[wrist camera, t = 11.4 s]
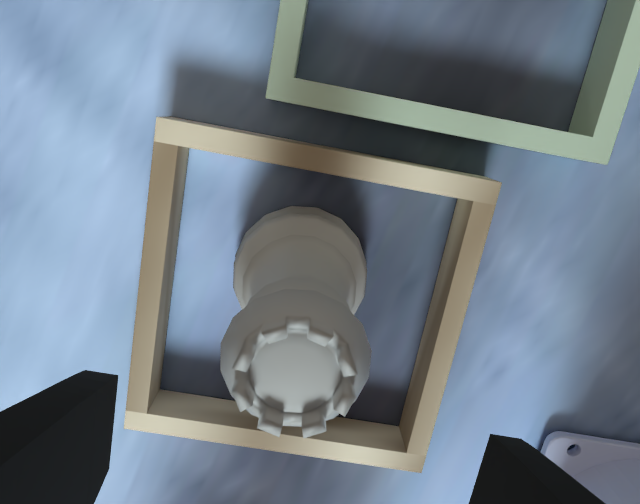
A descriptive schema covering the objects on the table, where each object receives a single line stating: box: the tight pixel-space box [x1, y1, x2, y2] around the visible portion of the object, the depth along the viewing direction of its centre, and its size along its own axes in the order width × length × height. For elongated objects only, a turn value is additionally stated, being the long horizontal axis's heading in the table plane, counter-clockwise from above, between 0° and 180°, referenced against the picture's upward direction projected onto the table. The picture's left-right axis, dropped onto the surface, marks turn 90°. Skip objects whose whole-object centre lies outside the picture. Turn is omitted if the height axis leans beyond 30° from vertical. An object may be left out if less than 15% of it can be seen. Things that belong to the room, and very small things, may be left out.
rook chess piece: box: [220, 206, 372, 438], centre depth 14 cm, size 4×4×8 cm
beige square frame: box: [124, 116, 502, 473], centre depth 17 cm, size 10×10×2 cm
